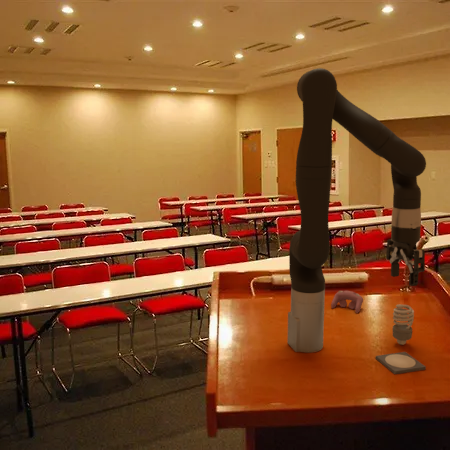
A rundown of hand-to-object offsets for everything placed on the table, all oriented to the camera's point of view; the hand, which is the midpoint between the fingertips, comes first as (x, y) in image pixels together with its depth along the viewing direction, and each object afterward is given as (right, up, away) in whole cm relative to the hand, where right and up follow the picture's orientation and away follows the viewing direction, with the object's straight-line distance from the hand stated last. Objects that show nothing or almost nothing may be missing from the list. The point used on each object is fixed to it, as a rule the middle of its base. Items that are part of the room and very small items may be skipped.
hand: (403, 280), depth 148 cm
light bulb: (0, -19, +4) cm, 19 cm away
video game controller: (-9, -13, +31) cm, 35 cm away
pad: (-4, -21, -8) cm, 23 cm away
